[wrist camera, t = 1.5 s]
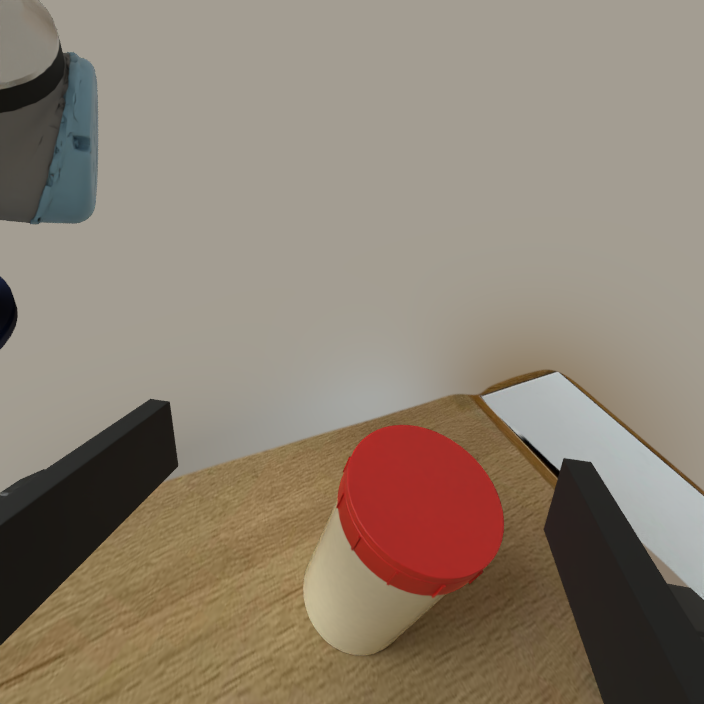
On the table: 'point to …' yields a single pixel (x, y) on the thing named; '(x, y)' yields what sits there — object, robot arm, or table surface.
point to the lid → (419, 510)
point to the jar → (355, 597)
